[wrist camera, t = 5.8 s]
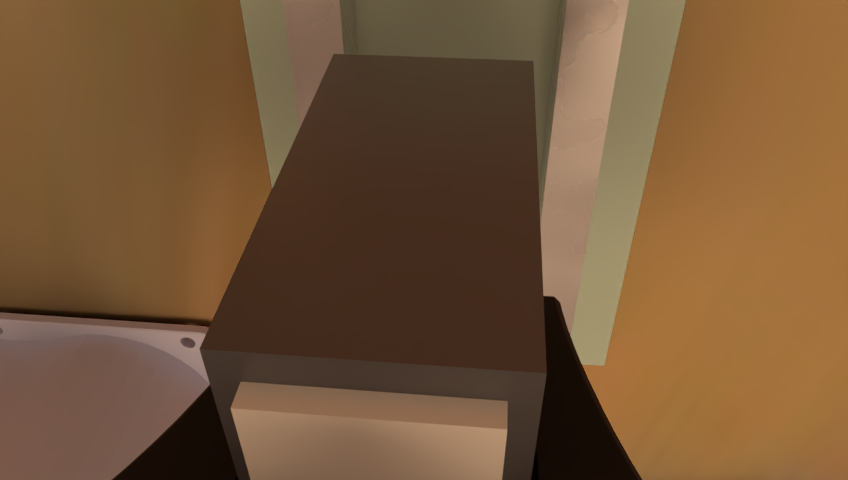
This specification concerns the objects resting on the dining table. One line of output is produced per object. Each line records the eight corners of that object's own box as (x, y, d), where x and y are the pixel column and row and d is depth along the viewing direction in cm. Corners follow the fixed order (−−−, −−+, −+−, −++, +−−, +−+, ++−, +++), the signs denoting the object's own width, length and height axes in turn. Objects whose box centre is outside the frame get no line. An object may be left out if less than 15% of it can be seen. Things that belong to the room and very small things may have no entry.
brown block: (365, 393, 16) (299, 717, 11) (333, 53, 11) (187, 374, 6) (501, 403, 16) (495, 740, 11) (532, 60, 11) (546, 401, 6)
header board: (304, 327, 25) (287, 382, 23) (194, -357, 13) (141, -358, 11) (601, 347, 24) (608, 405, 22) (755, -364, 12) (796, -367, 11)
